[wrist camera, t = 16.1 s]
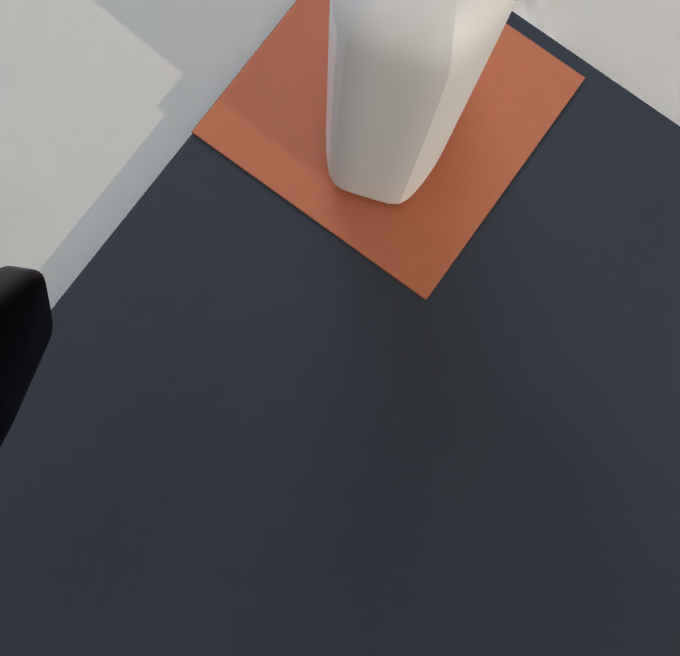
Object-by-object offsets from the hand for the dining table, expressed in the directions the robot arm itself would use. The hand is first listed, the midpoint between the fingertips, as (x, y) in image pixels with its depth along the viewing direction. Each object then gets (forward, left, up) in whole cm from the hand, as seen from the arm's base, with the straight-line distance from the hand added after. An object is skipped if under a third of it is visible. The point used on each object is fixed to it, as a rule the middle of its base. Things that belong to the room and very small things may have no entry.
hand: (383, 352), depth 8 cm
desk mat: (-2, 0, -9) cm, 9 cm away
